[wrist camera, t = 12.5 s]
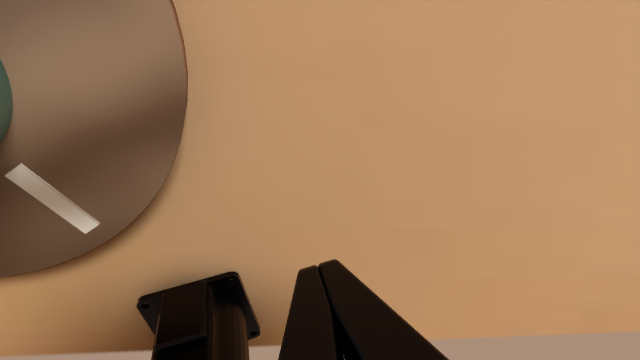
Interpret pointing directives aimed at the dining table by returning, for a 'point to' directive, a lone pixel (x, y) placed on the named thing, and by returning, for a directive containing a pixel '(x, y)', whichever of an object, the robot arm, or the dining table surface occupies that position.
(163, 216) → the dining table surface
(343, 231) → the dining table surface
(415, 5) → the dining table surface
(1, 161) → the disc
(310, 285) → the robot arm
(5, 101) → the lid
